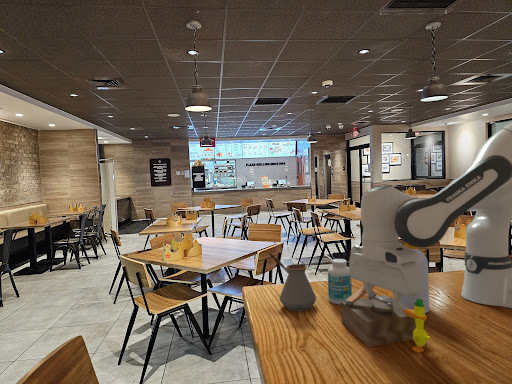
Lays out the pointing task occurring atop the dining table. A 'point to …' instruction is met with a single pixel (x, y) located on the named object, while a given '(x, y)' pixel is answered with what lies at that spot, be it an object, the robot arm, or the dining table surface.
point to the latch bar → (356, 296)
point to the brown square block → (377, 323)
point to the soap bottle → (424, 293)
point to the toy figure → (418, 325)
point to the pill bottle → (339, 281)
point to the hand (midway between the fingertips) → (382, 303)
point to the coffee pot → (296, 288)
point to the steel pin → (381, 305)
